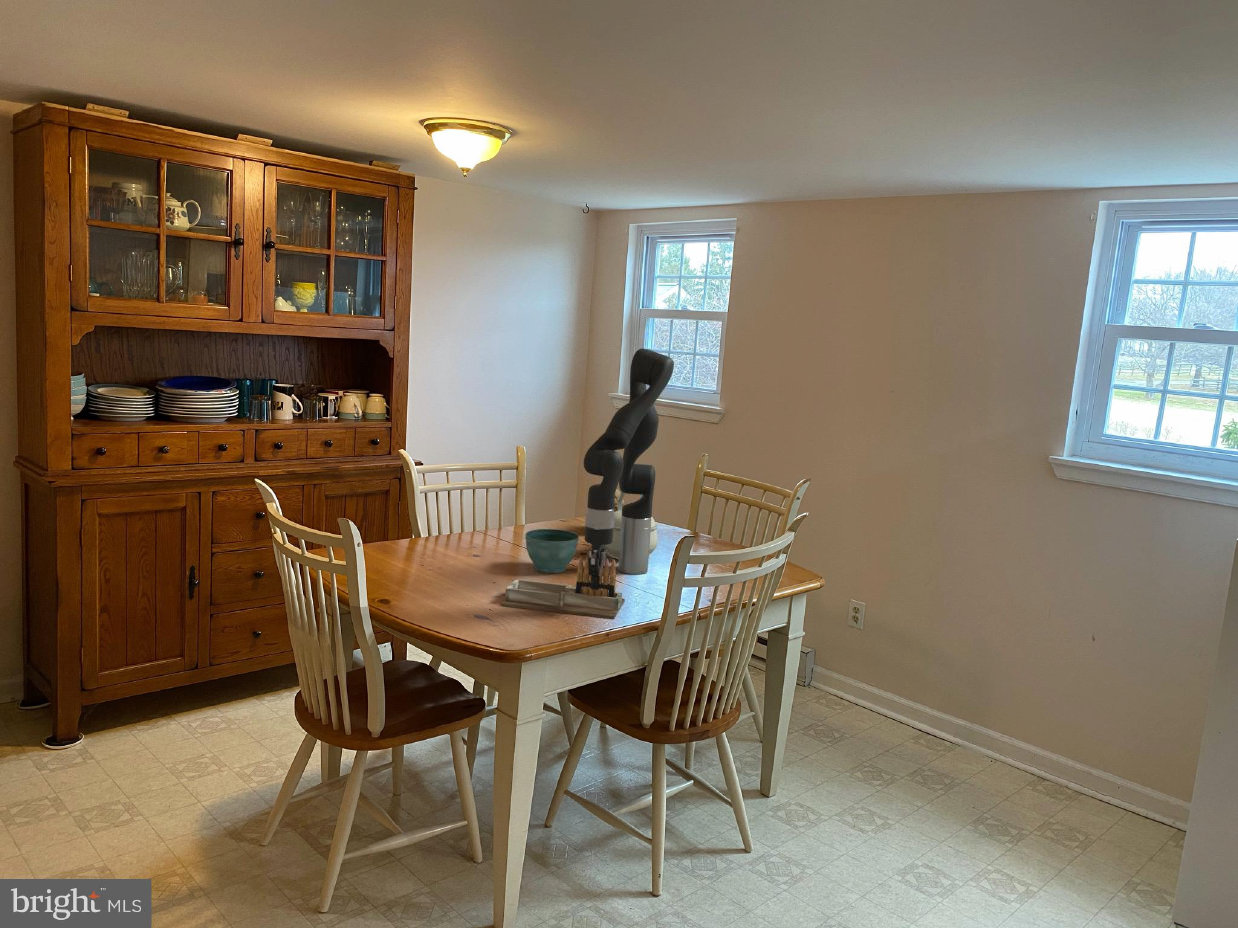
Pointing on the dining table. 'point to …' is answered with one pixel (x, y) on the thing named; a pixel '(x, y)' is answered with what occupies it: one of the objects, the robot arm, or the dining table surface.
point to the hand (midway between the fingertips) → (595, 587)
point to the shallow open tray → (560, 599)
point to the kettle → (614, 546)
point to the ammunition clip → (607, 583)
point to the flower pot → (551, 549)
